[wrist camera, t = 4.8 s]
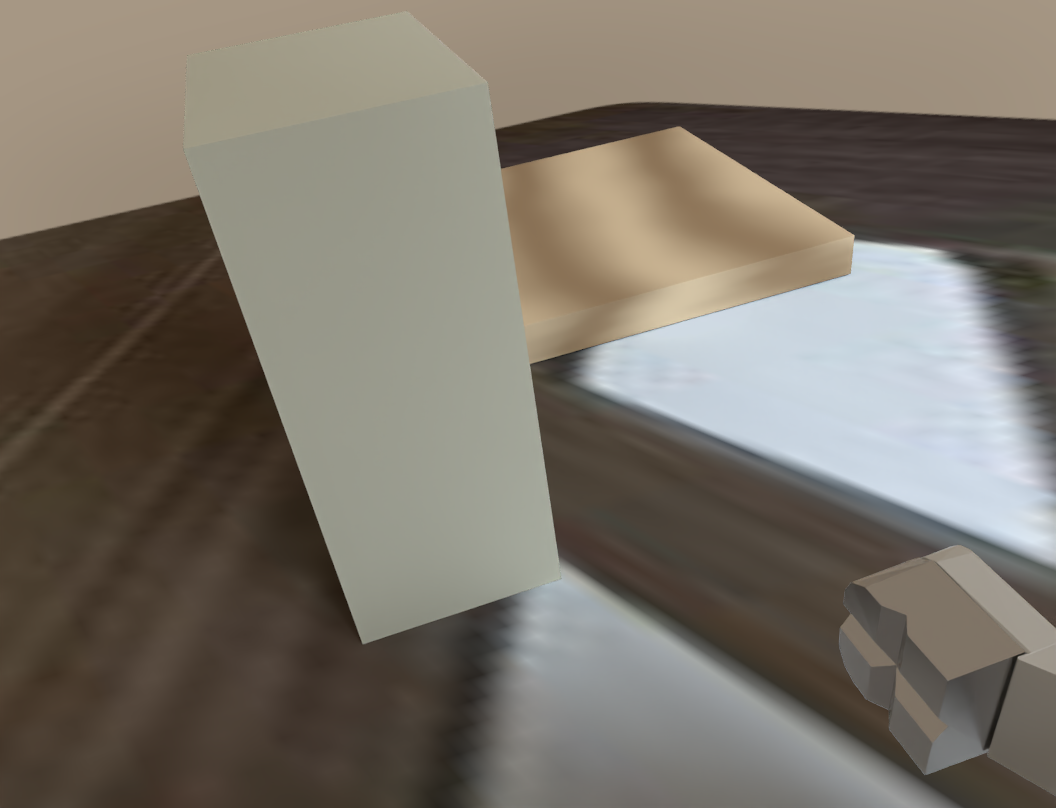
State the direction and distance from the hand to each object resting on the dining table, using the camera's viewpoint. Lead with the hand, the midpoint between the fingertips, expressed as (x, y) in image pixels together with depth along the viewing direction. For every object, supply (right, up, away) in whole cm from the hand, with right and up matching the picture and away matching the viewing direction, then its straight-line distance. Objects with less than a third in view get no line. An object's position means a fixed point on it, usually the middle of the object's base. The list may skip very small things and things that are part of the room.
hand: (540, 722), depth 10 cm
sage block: (-3, +1, +14) cm, 14 cm away
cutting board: (+1, +10, +25) cm, 27 cm away
